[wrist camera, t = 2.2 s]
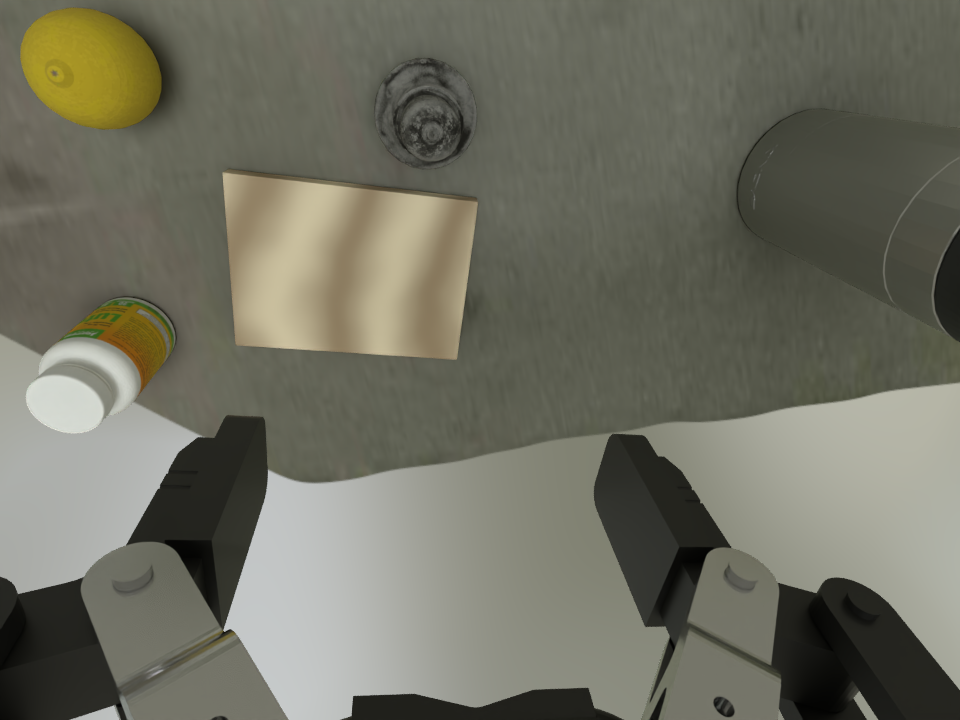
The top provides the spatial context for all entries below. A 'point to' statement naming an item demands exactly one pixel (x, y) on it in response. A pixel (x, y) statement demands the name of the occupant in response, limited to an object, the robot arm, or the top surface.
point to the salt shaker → (425, 113)
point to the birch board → (347, 265)
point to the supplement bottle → (100, 365)
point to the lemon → (91, 68)
